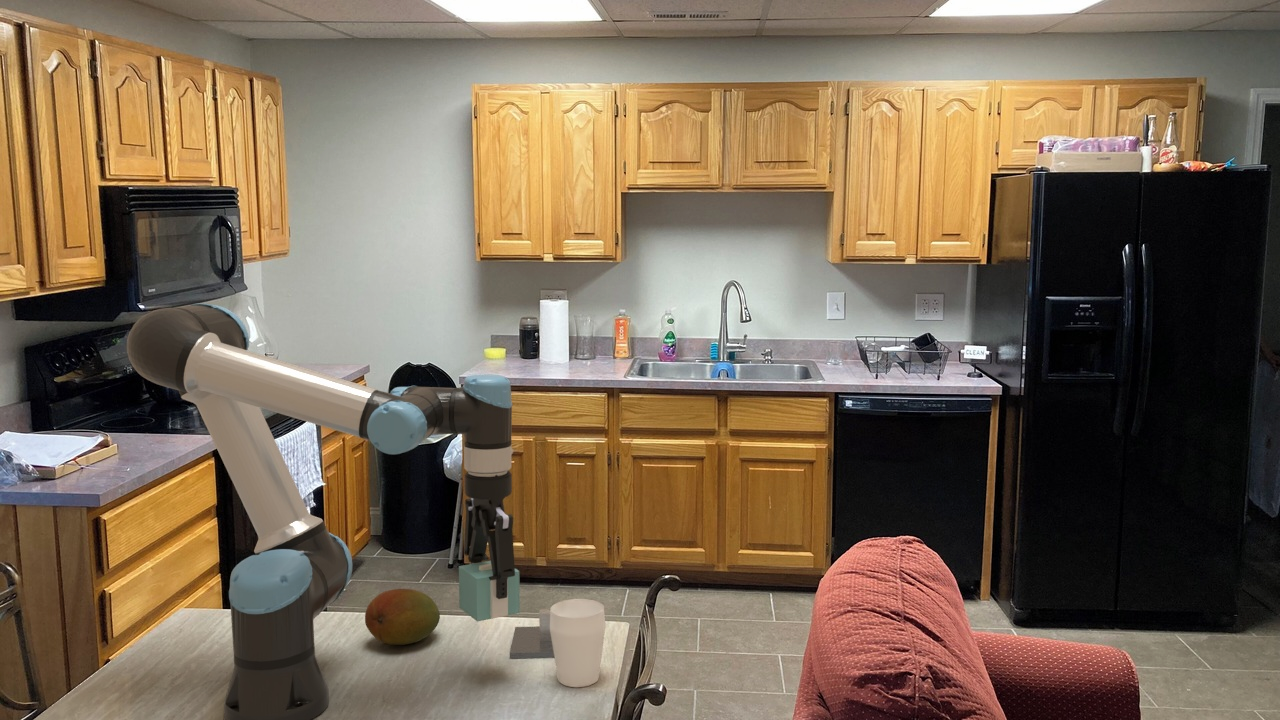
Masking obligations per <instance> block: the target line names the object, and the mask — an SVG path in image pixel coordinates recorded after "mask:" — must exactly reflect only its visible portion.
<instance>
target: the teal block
mask: <svg viewBox="0 0 1280 720" xmlns="http://www.w3.org/2000/svg"><path fill="white" fill-rule="evenodd" d="M485 561H486V562H484V561H482V562H480V563H474V564H471V563H469V564H465V565H464V564H463V565H459V566H458V597H459V601H458V603H459V607H458V608H459V609H461V611H463V612H464V613H466V614H467V615H468V616H469V617H471V618H472V619H473V620H475V622H477V623H478V622H483V621H487V620H492V618H491V617H490V579H489V577H490V576H493V572H492V566H491V560H488V561H487V560H485ZM520 593H521V592H520V570H518V568H515V576H512V577H508V616H511V615H515V614H520V611H521V610H520V609H521V605H520V604H521V603H520V599H521V598H520Z"/></svg>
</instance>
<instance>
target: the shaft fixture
mask: <svg viewBox="0 0 1280 720" xmlns="http://www.w3.org/2000/svg"><path fill="white" fill-rule="evenodd" d="M550 609H551V608H543V609H539V614H538V616H539V617H538V618H539V619H538V620H539V621H538V622H539V625H538V626H515V627H514V631H513V636H512V641H511V645H510V649H509V659H512V660H513V659H541V658H542V659H549V658H554V659H555V657H554V651H553V645H552V639H551V633H550Z"/></svg>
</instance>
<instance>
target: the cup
mask: <svg viewBox="0 0 1280 720" xmlns="http://www.w3.org/2000/svg"><path fill="white" fill-rule="evenodd" d="M549 609H550V633H551V639H552V645H553V651H554V662H555V667H556V674H557V680H558V683H560V684H562V685H564V686H566V687H571V688H583V687H589V686H591V685H593V684H595V683H597V682H598V680H599V679H600V671H601V663H602V655H603V647H604V641H605V631H606V619H605V618H606V615H605V606H604V604H603V603H602V602H600V601H597V600H593V599H587V598H570V599H565V600H561V601H557V602H555V603H554V604H552V605H551V607H550V608H549Z"/></svg>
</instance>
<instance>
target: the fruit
mask: <svg viewBox="0 0 1280 720" xmlns="http://www.w3.org/2000/svg"><path fill="white" fill-rule="evenodd" d="M440 619H441V614H440V609H439V607H438V605H437V604H436V602H435V601H434V600H433V599H432V598H431V597H430V596H429V595H428V594H426V593H424V592H421V591H419V590H415V589H411V588H409V589H408V588H397V589H395V588H394V589H390V590H386V591H383V592H381V593H379V594H378V595H376V596H375V597H373V599H372V600H371V601H370V602H369V604H368V606H367V607H366V610H365V614H364V622H365V626H366V628H367V630H368V632H369V633H370V634H371V636H373V638H375V639H376V640H378V641H379V642H381V643H383V644H386V645H394V646H405V645H410V644H414V643H418V642H419V641H422V640H423V639H425V638H427V637H428V636H430V635H431V633H432V632H434V631H435V629H436V628H437V626H438V624H439V622H440Z"/></svg>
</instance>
